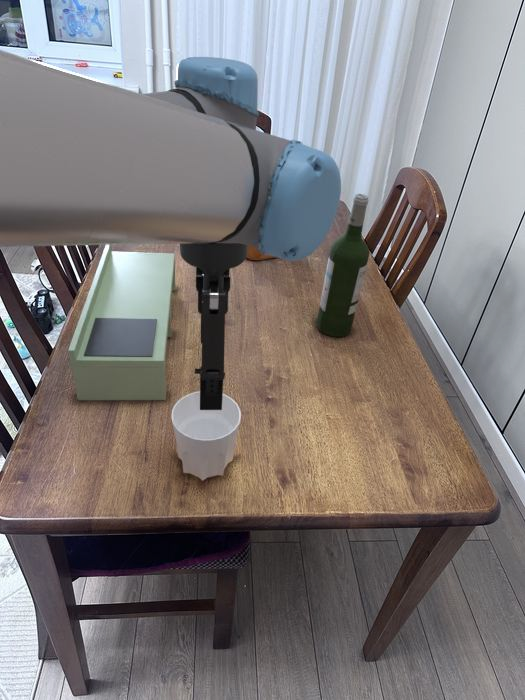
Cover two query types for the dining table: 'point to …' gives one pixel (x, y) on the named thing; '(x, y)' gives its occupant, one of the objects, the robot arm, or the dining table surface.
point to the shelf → (124, 328)
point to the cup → (205, 435)
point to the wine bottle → (344, 275)
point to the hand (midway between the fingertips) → (210, 372)
